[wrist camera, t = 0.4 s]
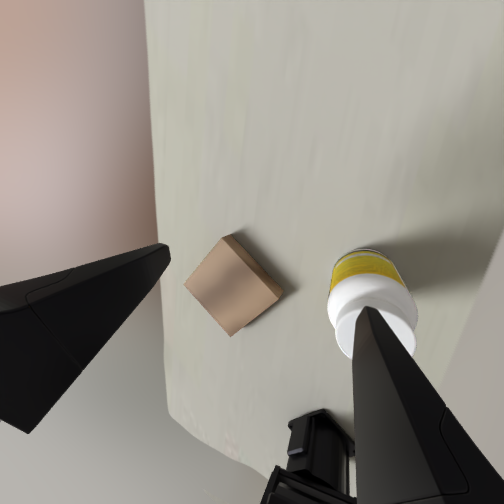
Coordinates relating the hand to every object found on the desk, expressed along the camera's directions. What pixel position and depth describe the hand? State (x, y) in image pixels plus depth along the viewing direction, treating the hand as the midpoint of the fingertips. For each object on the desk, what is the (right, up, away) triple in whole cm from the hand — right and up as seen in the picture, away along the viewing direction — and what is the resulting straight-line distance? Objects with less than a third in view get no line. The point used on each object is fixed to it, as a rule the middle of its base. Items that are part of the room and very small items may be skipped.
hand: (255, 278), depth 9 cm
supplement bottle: (+11, -1, +11) cm, 15 cm away
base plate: (-2, -3, +17) cm, 18 cm away
